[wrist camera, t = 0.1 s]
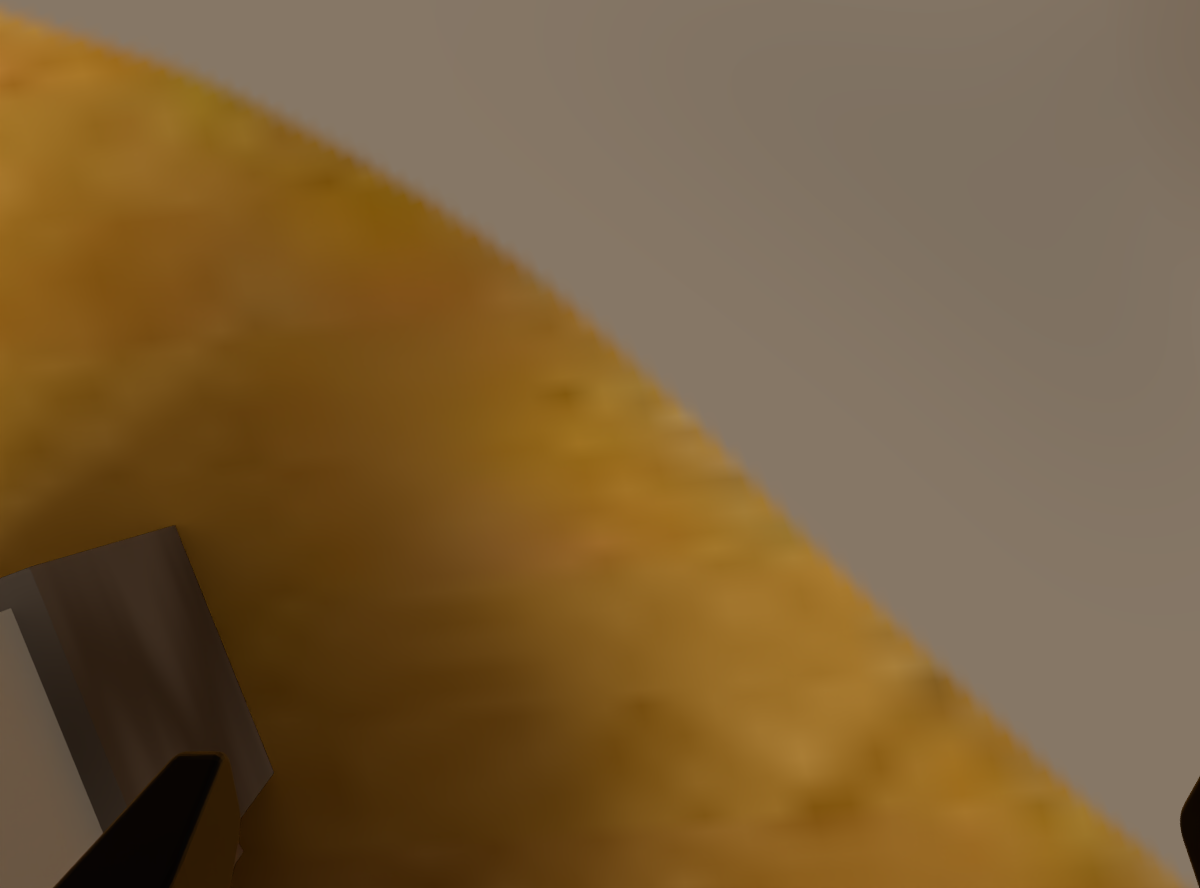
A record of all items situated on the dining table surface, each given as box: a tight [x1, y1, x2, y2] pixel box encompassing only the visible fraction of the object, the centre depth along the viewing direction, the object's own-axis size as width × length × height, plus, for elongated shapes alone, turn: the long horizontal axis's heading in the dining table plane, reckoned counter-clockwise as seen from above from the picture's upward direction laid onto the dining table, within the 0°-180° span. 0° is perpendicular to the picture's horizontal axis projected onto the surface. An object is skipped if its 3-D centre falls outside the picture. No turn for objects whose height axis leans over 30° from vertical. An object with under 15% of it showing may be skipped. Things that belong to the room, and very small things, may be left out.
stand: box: [0, 525, 274, 833], centre depth 20 cm, size 6×6×7 cm
